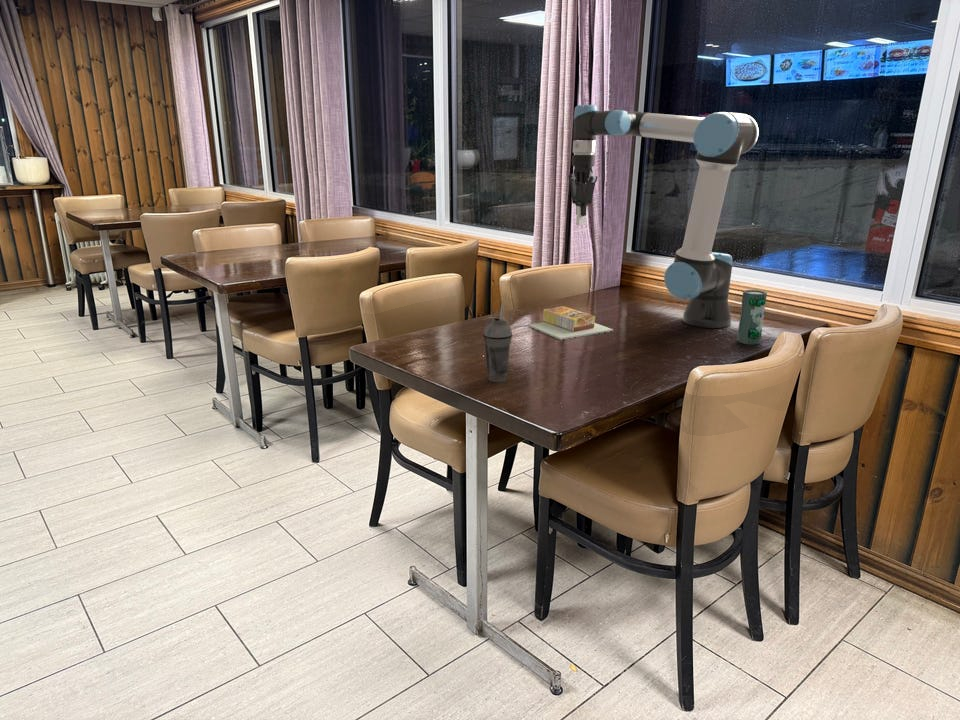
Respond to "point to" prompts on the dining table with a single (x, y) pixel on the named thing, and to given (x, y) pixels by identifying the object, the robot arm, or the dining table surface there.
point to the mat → (565, 333)
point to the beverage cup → (497, 347)
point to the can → (751, 316)
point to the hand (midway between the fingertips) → (580, 225)
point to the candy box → (568, 318)
